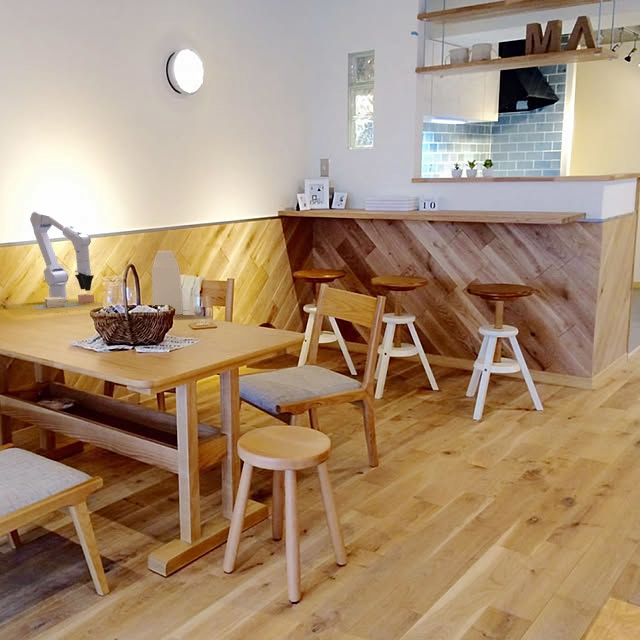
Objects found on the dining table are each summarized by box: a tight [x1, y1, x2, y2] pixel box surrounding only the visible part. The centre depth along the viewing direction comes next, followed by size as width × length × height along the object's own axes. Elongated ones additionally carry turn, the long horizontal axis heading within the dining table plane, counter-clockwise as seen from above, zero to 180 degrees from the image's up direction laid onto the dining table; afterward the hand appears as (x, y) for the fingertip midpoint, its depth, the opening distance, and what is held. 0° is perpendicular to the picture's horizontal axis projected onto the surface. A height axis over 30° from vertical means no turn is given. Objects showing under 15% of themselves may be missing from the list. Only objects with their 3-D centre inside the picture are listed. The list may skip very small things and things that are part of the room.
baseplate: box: [31, 301, 82, 311], centre depth 330 cm, size 13×19×2 cm
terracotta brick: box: [77, 293, 95, 304], centre depth 340 cm, size 4×6×5 cm
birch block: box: [43, 297, 66, 309], centre depth 328 cm, size 7×7×4 cm
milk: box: [151, 250, 185, 315], centre depth 307 cm, size 12×12×26 cm
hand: (85, 289), depth 339 cm, fingers open, 7 cm apart
